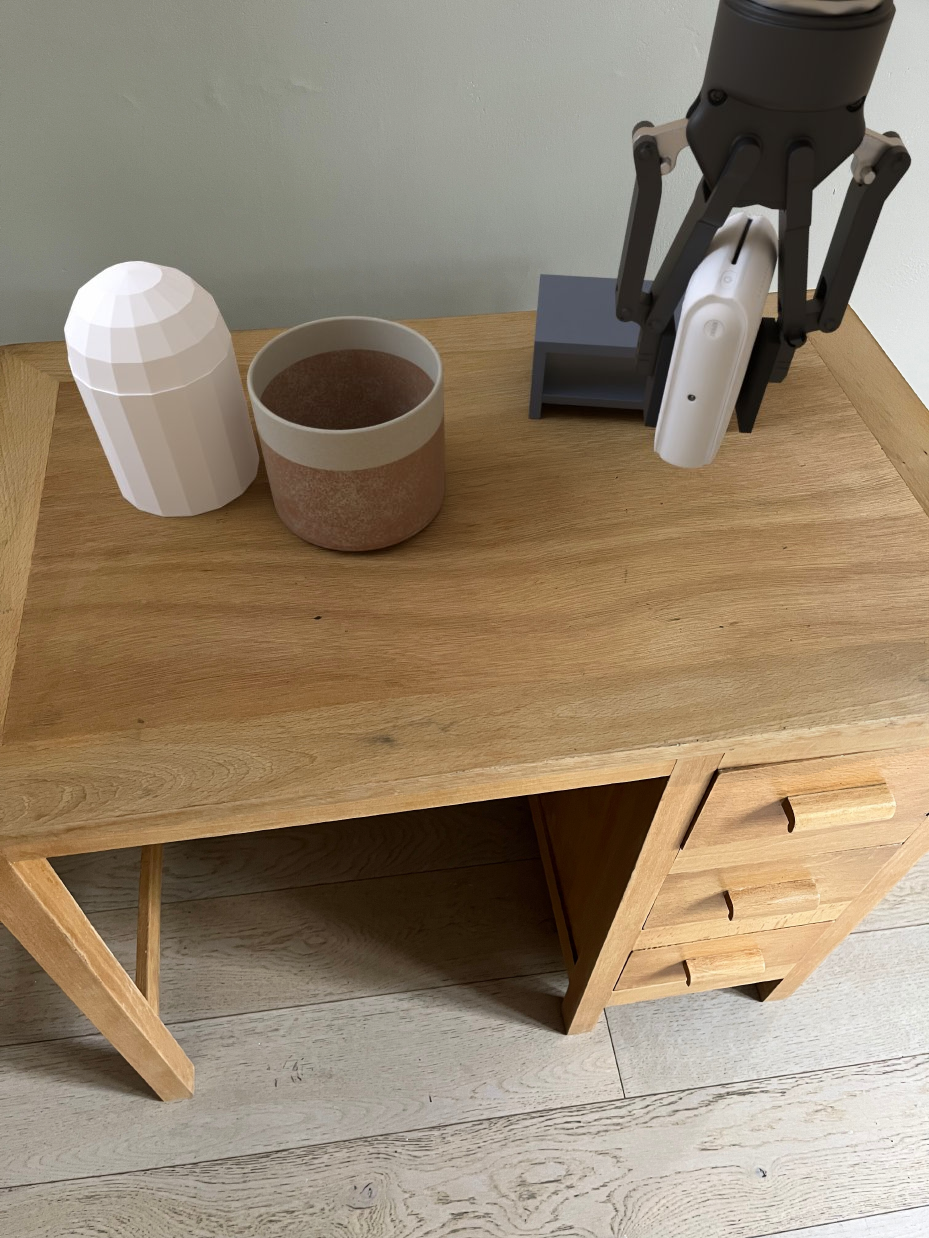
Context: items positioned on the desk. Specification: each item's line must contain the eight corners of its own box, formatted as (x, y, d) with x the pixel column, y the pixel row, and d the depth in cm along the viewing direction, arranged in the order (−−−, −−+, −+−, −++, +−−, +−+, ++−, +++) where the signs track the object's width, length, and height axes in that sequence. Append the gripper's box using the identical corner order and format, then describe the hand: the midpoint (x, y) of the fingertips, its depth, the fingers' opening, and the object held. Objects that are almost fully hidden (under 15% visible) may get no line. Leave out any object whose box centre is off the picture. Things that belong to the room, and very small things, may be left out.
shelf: (717, 361, 94) (737, 285, 87) (726, 431, 86) (750, 354, 79) (534, 350, 95) (540, 273, 88) (528, 418, 87) (534, 340, 80)
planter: (266, 454, 84) (237, 329, 73) (424, 429, 86) (419, 304, 75) (286, 571, 74) (257, 447, 63) (463, 539, 77) (464, 414, 66)
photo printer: (713, 478, 52) (768, 290, 43) (644, 461, 53) (683, 274, 44) (743, 383, 58) (797, 199, 49) (680, 369, 59) (722, 186, 50)
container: (118, 434, 85) (43, 239, 70) (254, 415, 87) (210, 221, 72) (116, 527, 77) (30, 330, 62) (266, 504, 79) (219, 308, 64)
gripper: (1001, -34, 39) (829, 390, 57) (599, -47, 40) (556, 373, 58) (1057, 22, 34) (851, 464, 53) (601, 5, 35) (552, 445, 54)
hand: (696, 416), depth 55 cm, fingers closed on photo printer, 5 cm apart
